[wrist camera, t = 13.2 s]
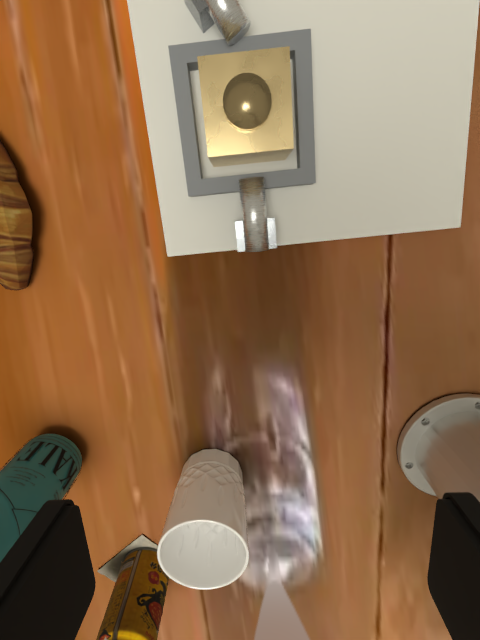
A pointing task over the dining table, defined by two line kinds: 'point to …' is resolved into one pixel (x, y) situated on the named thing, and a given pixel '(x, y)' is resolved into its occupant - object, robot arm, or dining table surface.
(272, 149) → the block
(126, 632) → the condiment
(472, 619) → the robot arm
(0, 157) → the croissant
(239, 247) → the shaft
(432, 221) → the board
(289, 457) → the dining table surface
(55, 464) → the beverage bottle
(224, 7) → the shaft
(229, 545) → the white cup
